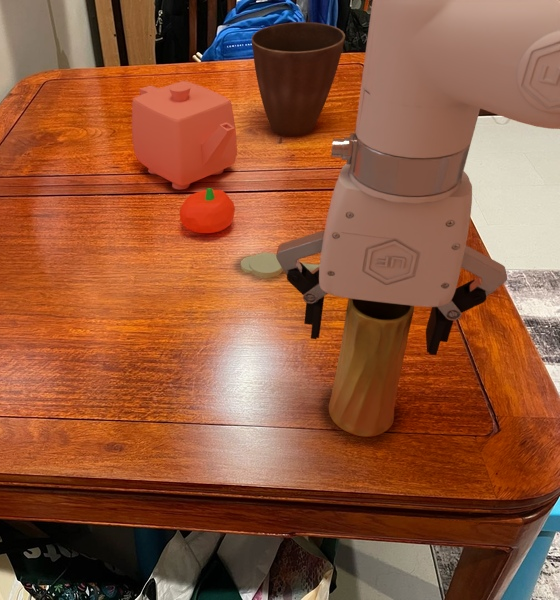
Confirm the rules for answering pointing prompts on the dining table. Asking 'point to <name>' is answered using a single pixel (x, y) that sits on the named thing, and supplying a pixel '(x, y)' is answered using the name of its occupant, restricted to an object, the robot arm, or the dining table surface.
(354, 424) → the vase
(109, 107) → the dining table surface
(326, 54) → the flower pot
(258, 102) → the dining table surface
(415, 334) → the dining table surface
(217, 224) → the pumpkin
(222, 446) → the dining table surface
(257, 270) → the spoon
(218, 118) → the teapot
